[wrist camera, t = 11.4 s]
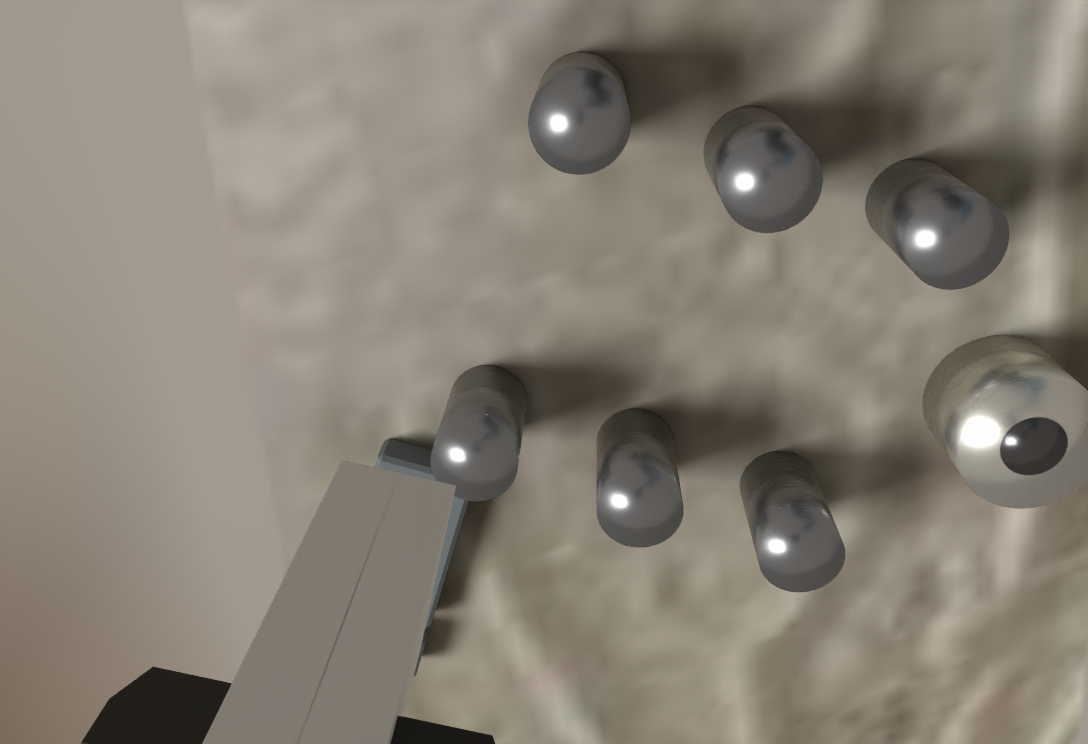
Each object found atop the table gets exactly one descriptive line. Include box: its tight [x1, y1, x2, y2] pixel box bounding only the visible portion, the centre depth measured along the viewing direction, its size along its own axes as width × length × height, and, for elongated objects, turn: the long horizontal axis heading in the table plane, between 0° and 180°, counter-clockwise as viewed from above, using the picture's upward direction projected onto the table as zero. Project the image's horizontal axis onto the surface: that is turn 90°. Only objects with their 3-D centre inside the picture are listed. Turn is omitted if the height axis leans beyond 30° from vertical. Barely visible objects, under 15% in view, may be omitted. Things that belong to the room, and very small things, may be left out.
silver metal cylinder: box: [923, 335, 1088, 509], centre depth 35 cm, size 5×5×4 cm
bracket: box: [375, 439, 468, 676], centre depth 41 cm, size 4×10×2 cm, turn 164°
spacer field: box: [430, 52, 1009, 592], centre depth 34 cm, size 15×15×5 cm
